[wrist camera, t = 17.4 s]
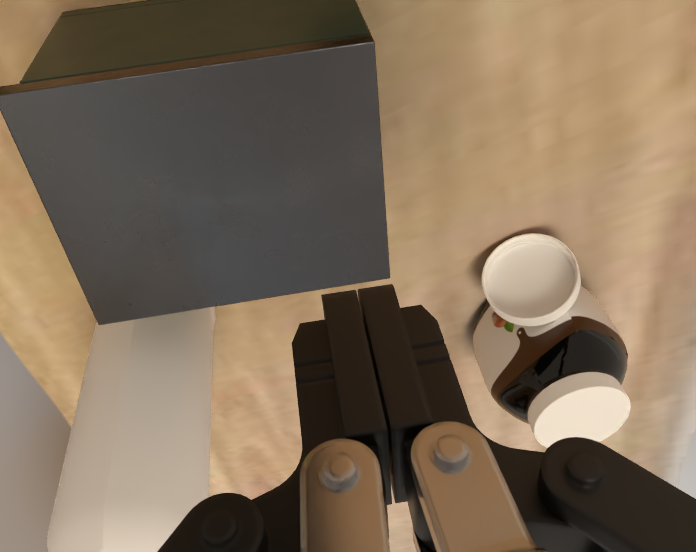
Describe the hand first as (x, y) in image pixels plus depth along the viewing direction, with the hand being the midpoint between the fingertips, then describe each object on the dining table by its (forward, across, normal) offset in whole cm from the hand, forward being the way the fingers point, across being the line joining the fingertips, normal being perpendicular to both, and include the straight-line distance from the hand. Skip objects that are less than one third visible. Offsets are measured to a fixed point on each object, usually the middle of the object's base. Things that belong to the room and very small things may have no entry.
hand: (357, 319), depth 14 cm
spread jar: (+28, -16, +27) cm, 42 cm away
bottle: (+28, +12, +22) cm, 37 cm away
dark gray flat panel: (+19, +5, +8) cm, 21 cm away
